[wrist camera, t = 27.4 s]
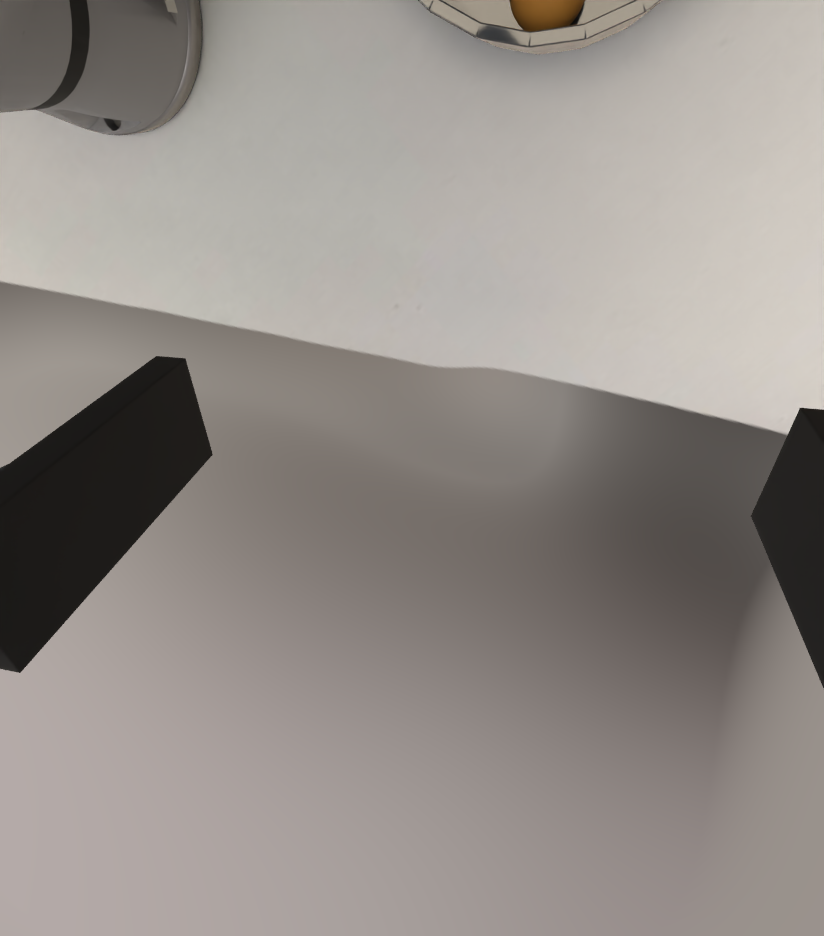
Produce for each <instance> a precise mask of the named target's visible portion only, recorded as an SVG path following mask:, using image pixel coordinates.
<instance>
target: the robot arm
mask: <svg viewBox="0 0 824 936" xmlns="http://www.w3.org/2000/svg"><path fill="white" fill-rule="evenodd" d="M201 42H202V25H201V12H200V5H199V0H0V112H11V111H22V110H38V111H41V112H43V113H46V114H48V115H51V116H54V117H56V118H59V119H61V120H64V121H66V122H69V123H72V124H74V125H77V126H79V127H82V128H85V129H87V130H91V131H95V132H99V133H103V134H108V135H128V134H136V133H142V132H147V131H150V130H153V129H156V128H158V127H160V126H161V125H163V124H165V123H166V122H167V121H169V120H170V119H171V118H172V117H173V116H174V115H175V114H176V113H177V112H178V111H179V110H180V108H181V107H182V106H183V104H184V103H185V101H186V99H187V98H188V96H189V94H190V92H191V89H192V87H193V84H194V81H195V79H196V75H197V71H198V67H199V61H200V55H201ZM211 456H212V451H211V447H210V444H209V440H208V437H207V433H206V430H205V426H204V423H203V419H202V416H201V412H200V409H199V405H198V402H197V398H196V394H195V391H194V387H193V384H192V381H191V377H190V373H189V370H188V367H187V363H186V359H184V358H173V357H160V356H156V357H155V358H153V359H152V360H150V361H149V362H148V363H146V364H145V365H144V366H142V367H141V368H140V369H138V370H137V371H135V372H134V373H133V374H131V375H130V376H129V377H127V378H126V379H124V380H123V381H122V382H120V383H119V384H118V385H116V386H115V387H114V388H112V389H111V390H110V391H108V392H107V393H105V394H104V395H103V396H101V397H100V398H98V399H97V400H96V401H94V402H93V403H92V404H90V405H89V406H88V407H86V408H85V409H84V410H82V411H81V412H79V413H78V414H77V415H75V416H74V417H73V418H71V419H70V420H68V421H67V422H66V423H64V424H63V425H62V426H60V427H59V428H57V429H56V430H55V431H53V432H52V433H51V434H49V435H48V436H47V437H45V438H44V439H43V440H41V441H40V442H38V443H37V444H36V445H34V446H33V447H32V448H30V449H29V450H27V451H26V452H25V453H23V454H22V455H21V456H19V457H18V458H17V459H15V460H14V461H12V462H11V463H10V464H8V465H6V466H3V467H1V468H0V669H4V670H9V671H14V672H19V673H20V672H21V671H22V670H23V669H24V668H25V667H26V666H27V664H28V663H29V662H30V661H31V660H32V659H33V658H34V657H35V655H36V654H37V653H38V652H39V651H40V650H41V649H42V647H43V646H44V645H45V644H46V643H47V642H48V641H49V640H50V638H51V637H52V636H53V635H54V634H55V633H56V632H57V630H58V629H59V628H60V627H61V626H62V625H63V624H64V622H65V621H66V620H67V619H68V618H69V617H70V616H71V614H72V613H73V612H74V611H75V610H76V609H77V608H78V607H79V605H80V604H81V603H82V602H83V601H84V600H85V599H86V597H87V596H88V595H89V594H90V593H91V592H92V591H93V589H94V588H95V587H96V586H97V585H98V584H99V583H100V582H101V581H102V579H103V578H104V577H105V576H106V575H107V574H108V573H109V571H110V570H111V569H112V568H113V567H114V566H115V564H116V563H117V562H118V561H119V560H120V559H121V558H122V557H123V555H124V554H125V553H126V552H127V551H128V550H129V549H130V548H131V547H132V545H133V544H134V543H135V542H136V541H137V540H138V538H139V537H140V536H141V535H142V534H143V533H144V532H145V531H146V529H147V528H148V527H149V526H150V525H151V524H152V523H153V522H154V520H155V519H156V518H157V517H158V516H159V515H160V513H161V512H162V511H163V510H164V509H165V508H166V507H167V506H168V504H169V503H170V502H171V501H172V500H173V499H174V498H175V496H176V495H177V494H178V493H179V492H180V491H181V490H182V489H183V487H184V486H185V485H186V484H187V483H188V482H189V481H190V480H191V478H192V477H193V476H194V475H195V474H196V473H197V472H198V470H199V469H200V468H201V467H202V466H203V465H204V464H205V462H206V461H207V460H208V459H209V458H210V457H211ZM751 517H752V520H753V522H754V524H755V527H756V529H757V531H758V534H759V536H760V538H761V541H762V543H763V546H764V548H765V550H766V553H767V555H768V557H769V560H770V562H771V565H772V567H773V569H774V572H775V574H776V576H777V579H778V581H779V583H780V586H781V588H782V591H783V593H784V595H785V598H786V600H787V602H788V605H789V607H790V609H791V612H792V614H793V616H794V619H795V621H796V624H797V626H798V629H799V631H800V633H801V636H802V638H803V640H804V643H805V645H806V648H807V650H808V652H809V655H810V657H811V659H812V662H813V664H814V666H815V669H816V671H817V673H818V676H819V678H820V680H821V683H822V685H823V688H824V410H820V409H807V408H800V409H799V412H798V414H797V416H796V418H795V420H794V423H793V425H792V427H791V429H790V431H789V434H788V436H787V438H786V440H785V442H784V445H783V447H782V449H781V451H780V453H779V456H778V458H777V460H776V462H775V465H774V467H773V469H772V471H771V473H770V475H769V478H768V480H767V482H766V484H765V486H764V489H763V491H762V493H761V495H760V497H759V500H758V502H757V504H756V506H755V508H754V510H753V513H752V515H751Z"/></svg>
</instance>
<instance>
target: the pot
mask: <svg viewBox="0 0 824 936" xmlns="http://www.w3.org/2000/svg"><path fill="white" fill-rule="evenodd" d="M418 1H419V2H420V3H421V4H422V5H423V6H424V7H425V8H426V9H427V10H429V11H430V12H431V13H433V14H434V15H436V16H438V17H440V18H442V19H443V20H445V21H447V22H449V23H450V24H452V25H454V26H456V27H457V28H459V29H461V30H463V31H464V32H466V33H468V34H470V35H472V36H473V37H475V38H477V39H480V40H482V41H484V42H487V43H489V44H491V45H493V46H496V47H499V48H505V49H510V50H515V51H521V52H526V53H531V54H547V53H554V52H562V51H568V50H575V49H581V48H584V47H587V46H589V45H591V44H593V43H595V42H598V41H600V40H603V39H605V38H607V37H609V36H611V35H613V34H615V33H618V32H620V31H622V30H624V29H626V28H627V27H629V26H631V25H632V24H633V23H634V22H636V21H637V20H638V19H640V18H641V17H642V16H643V15H645V14H646V13H647V12H649V11H650V10H651V9H652V8H654V7H655V6H656V5H657V4H659V3H660V2H661V1H662V0H585V1H584V4H583V6H582V8H581V10H580V12H579V14H578V16H577V17H576V18H575V19H574V21H573V22H572V23H571V24H570V25H569V26H564V27H557V28H551V29H544V30H537V31H526V30H523V29H522V28H521V27H520V26H519V25H518V23H517V21H516V20H515V18H514V16H513V13H512V10H511V6H510V0H418Z"/></svg>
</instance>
